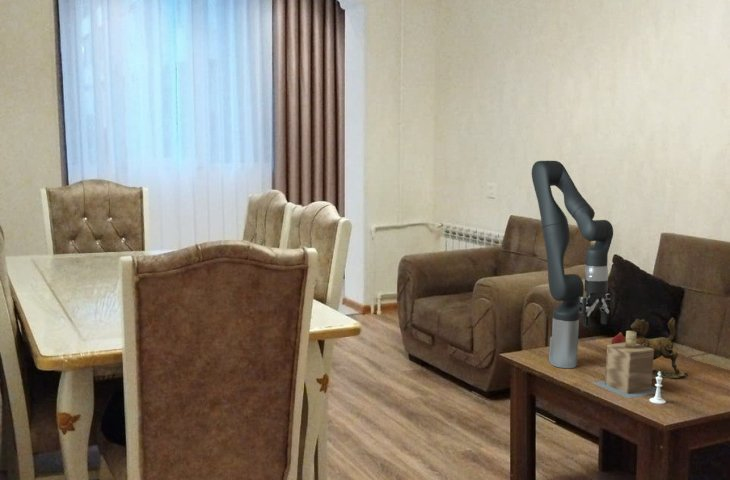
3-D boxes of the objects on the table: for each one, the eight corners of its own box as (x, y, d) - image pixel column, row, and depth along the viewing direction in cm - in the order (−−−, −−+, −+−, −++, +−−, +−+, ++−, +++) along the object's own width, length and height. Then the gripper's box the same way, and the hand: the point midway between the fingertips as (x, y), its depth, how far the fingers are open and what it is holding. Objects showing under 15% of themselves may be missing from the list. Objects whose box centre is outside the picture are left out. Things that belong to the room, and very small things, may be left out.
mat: (592, 384, 249) (592, 382, 249) (627, 378, 256) (627, 376, 256) (628, 399, 235) (628, 397, 235) (664, 392, 242) (664, 391, 242)
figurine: (610, 370, 264) (614, 314, 261) (678, 370, 266) (681, 314, 264) (626, 381, 251) (630, 321, 249) (697, 380, 253) (701, 322, 251)
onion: (608, 350, 289) (609, 330, 288) (620, 349, 291) (621, 329, 290) (617, 355, 284) (618, 334, 283) (630, 353, 285) (631, 333, 284)
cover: (604, 384, 247) (608, 329, 245) (627, 380, 252) (631, 326, 249) (628, 393, 238) (631, 337, 236) (651, 389, 243) (655, 334, 240)
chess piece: (661, 399, 234) (664, 369, 233) (668, 405, 230) (670, 374, 228) (646, 399, 234) (648, 369, 233) (653, 405, 229) (655, 374, 228)
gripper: (602, 275, 260) (601, 321, 262) (572, 278, 253) (572, 325, 255) (619, 278, 254) (618, 324, 255) (589, 281, 247) (588, 329, 248)
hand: (595, 325), depth 255 cm, fingers open, 8 cm apart
